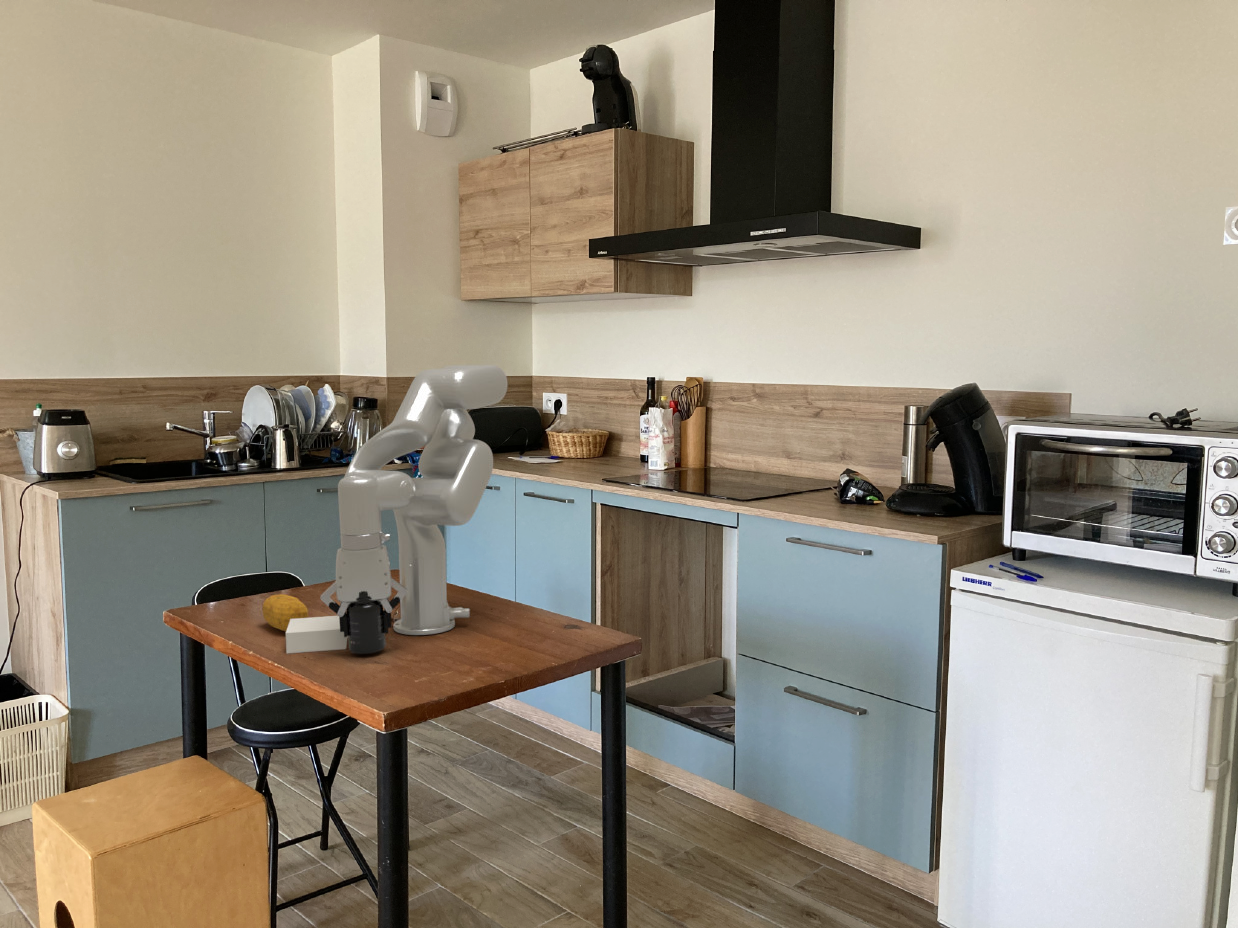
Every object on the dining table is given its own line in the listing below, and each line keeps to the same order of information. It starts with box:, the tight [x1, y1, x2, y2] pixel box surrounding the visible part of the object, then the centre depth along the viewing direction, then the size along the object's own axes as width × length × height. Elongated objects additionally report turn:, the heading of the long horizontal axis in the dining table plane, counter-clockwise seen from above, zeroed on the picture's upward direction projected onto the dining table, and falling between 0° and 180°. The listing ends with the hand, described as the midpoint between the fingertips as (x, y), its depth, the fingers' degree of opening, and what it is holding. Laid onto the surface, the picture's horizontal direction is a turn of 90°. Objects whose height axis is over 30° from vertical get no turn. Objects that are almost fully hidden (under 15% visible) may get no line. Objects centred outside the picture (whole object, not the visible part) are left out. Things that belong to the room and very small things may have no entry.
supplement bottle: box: [346, 591, 386, 655], centre depth 182 cm, size 7×7×12 cm
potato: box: [261, 593, 309, 633], centre depth 200 cm, size 7×14×7 cm, turn 38°
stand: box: [285, 615, 348, 654], centre depth 189 cm, size 11×11×4 cm
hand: (366, 632), depth 182 cm, fingers closed on supplement bottle, 6 cm apart
